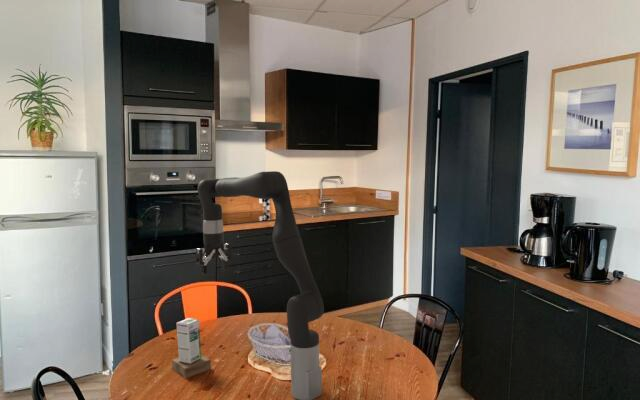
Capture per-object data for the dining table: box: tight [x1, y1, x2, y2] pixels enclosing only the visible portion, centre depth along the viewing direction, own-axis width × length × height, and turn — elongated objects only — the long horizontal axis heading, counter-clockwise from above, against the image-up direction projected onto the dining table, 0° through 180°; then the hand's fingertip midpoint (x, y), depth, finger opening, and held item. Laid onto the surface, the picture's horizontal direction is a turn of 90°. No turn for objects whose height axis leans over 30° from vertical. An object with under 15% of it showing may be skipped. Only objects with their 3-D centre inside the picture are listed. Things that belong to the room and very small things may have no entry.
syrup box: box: [176, 317, 202, 364], centre depth 171 cm, size 6×6×14 cm
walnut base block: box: [171, 353, 212, 379], centre depth 172 cm, size 10×10×4 cm
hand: (214, 272), depth 183 cm, fingers open, 8 cm apart
